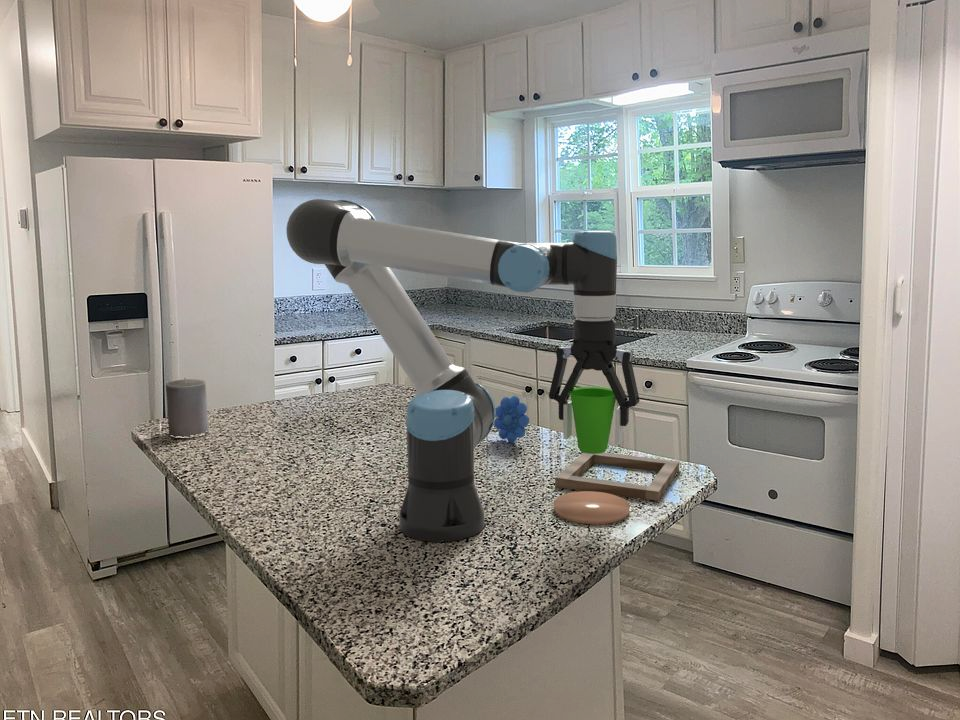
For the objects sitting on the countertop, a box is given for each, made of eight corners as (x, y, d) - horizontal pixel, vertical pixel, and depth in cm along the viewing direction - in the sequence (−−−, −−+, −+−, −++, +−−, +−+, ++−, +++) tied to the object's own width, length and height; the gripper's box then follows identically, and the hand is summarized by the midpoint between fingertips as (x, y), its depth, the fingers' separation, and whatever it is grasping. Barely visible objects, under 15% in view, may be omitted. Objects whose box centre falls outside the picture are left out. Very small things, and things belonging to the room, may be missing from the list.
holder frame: (658, 501, 147) (658, 491, 147) (555, 486, 156) (555, 477, 155) (679, 470, 166) (679, 461, 165) (585, 458, 175) (586, 450, 174)
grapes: (540, 443, 187) (540, 396, 185) (521, 449, 182) (521, 400, 180) (507, 434, 195) (507, 388, 193) (488, 439, 191) (487, 392, 189)
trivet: (617, 529, 134) (618, 522, 134) (542, 517, 140) (542, 510, 139) (637, 503, 146) (637, 497, 146) (567, 493, 152) (567, 487, 152)
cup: (616, 458, 136) (618, 397, 134) (565, 456, 137) (566, 396, 136) (618, 444, 144) (619, 387, 142) (570, 442, 146) (570, 386, 144)
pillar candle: (162, 435, 198) (157, 378, 195) (197, 427, 205) (193, 372, 202) (181, 442, 192) (176, 383, 189) (216, 433, 199) (212, 377, 196)
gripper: (660, 318, 136) (656, 440, 139) (544, 313, 145) (544, 429, 149) (650, 323, 129) (647, 451, 133) (530, 318, 138) (530, 438, 142)
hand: (592, 439), depth 141 cm, fingers closed on cup, 9 cm apart
